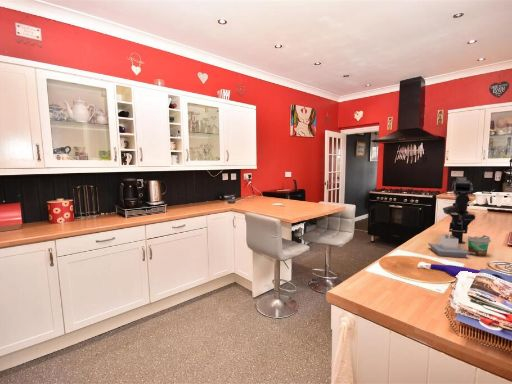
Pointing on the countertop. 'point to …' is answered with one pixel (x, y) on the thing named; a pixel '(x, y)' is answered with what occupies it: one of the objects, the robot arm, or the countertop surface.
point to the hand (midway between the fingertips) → (459, 228)
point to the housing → (448, 242)
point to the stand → (448, 251)
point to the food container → (478, 245)
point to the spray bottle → (447, 268)
